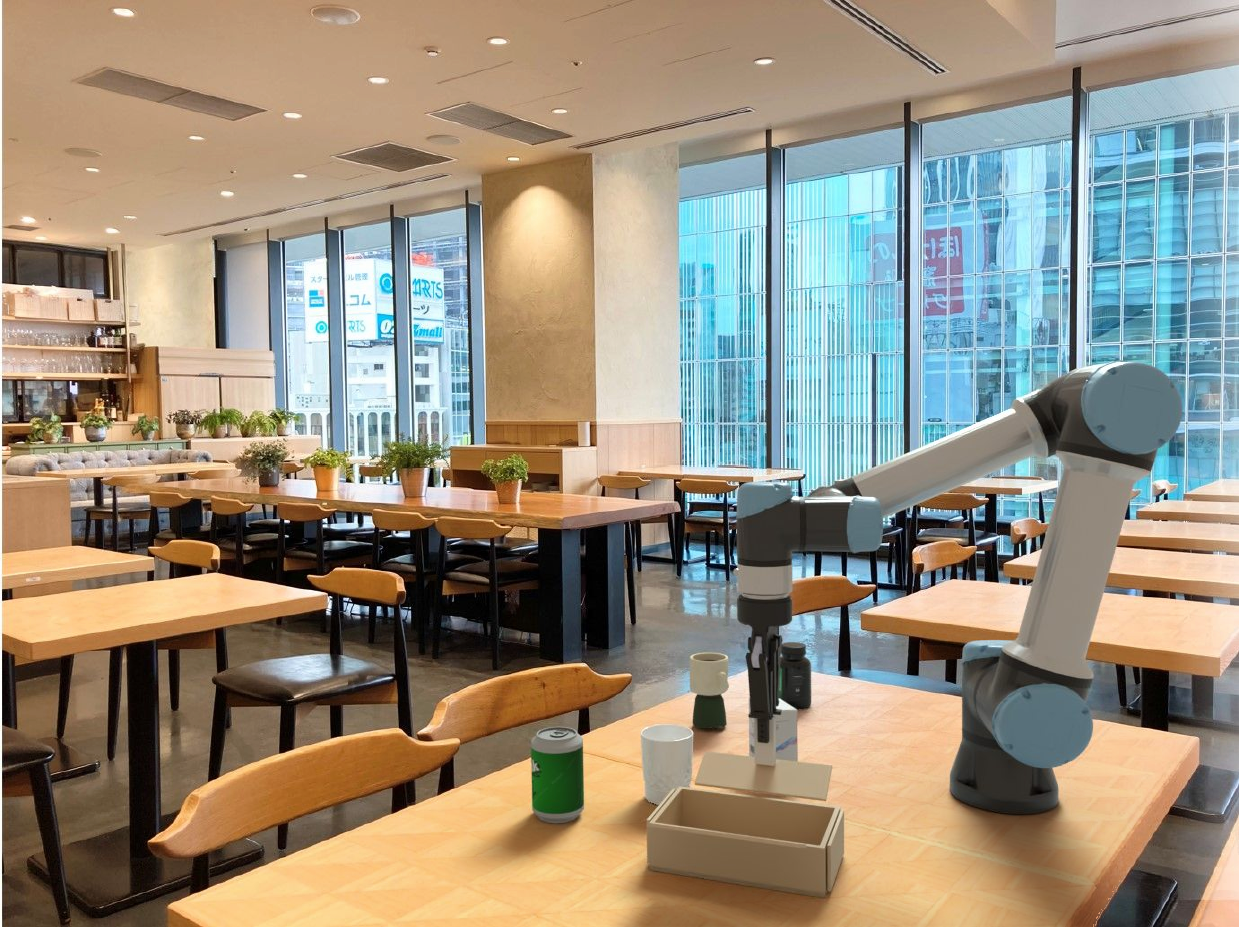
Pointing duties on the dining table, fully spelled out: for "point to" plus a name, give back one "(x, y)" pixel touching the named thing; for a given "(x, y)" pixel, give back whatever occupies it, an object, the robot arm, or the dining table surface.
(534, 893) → the dining table surface
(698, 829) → the flap near
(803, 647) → the supplement bottle
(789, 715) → the ink box
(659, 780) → the white cup
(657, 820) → the carton
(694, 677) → the character mug
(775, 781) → the flap far
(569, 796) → the soda can
